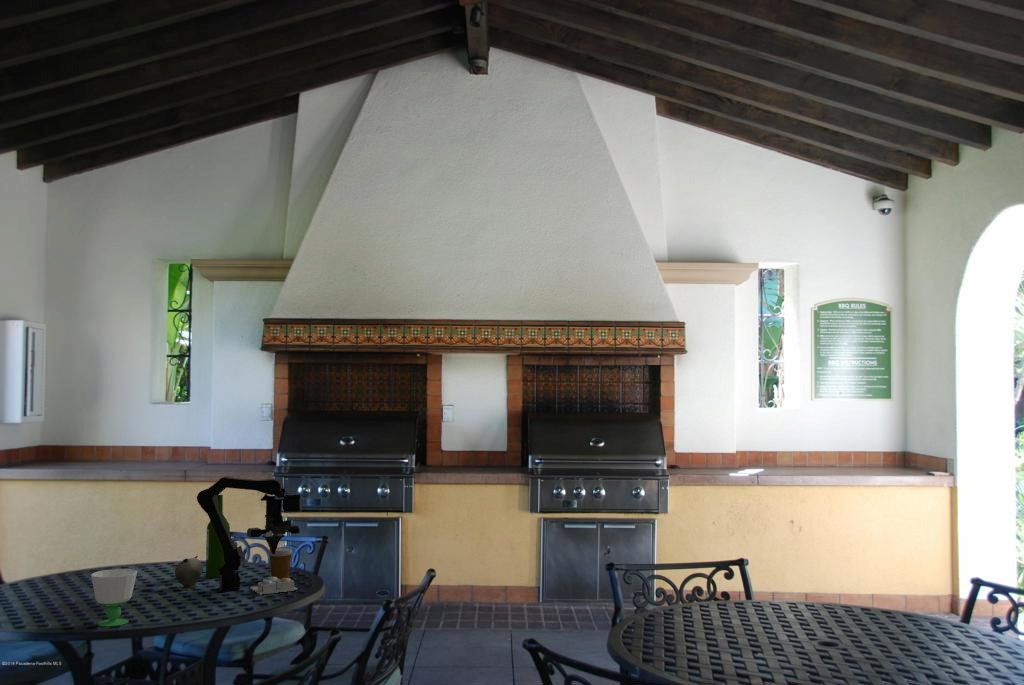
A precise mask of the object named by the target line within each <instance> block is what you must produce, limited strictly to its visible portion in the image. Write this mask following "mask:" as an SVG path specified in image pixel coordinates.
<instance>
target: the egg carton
mask: <svg viewBox="0 0 1024 685" xmlns="http://www.w3.org/2000/svg"><path fill="white" fill-rule="evenodd" d="M264 580H267V578H264V579H262V581H264ZM262 581H260V582H257V586H250V589H252V590H253V591H255V592H257V593H259V594H260V595H262V594H270V593H278V592H287V591H294V590H298V589H299V588H298V587H295V585H296V584H295V581H294V580H293V579H291V578H290V582H280V579H278V578H277V580H275V581H272V584H265V585H263V584H262ZM250 589H249V590H250ZM253 591H252V592H253ZM255 592H254V593H255ZM260 595H259V596H260Z"/></svg>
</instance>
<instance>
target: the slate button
mask: <svg viewBox="0 0 1024 685" xmlns="http://www.w3.org/2000/svg"><path fill="white" fill-rule="evenodd" d="M261 582H262V584H263V585H265V584H272V580H264V581H263V580H262V581H261Z"/></svg>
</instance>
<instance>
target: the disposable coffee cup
mask: <svg viewBox="0 0 1024 685" xmlns="http://www.w3.org/2000/svg"><path fill="white" fill-rule="evenodd" d="M293 552H294V551H293V549H292V548H291V547H289V546H287V547H286V546H285V547H284V546H281V547H280V546H279V547H278V546H277V549H276V552H275V554H272V553H271V551H270V548H269V550H268V552H267V553H268V556H269V565H270V566H269V567H270V574H271V576H270V577H277V578H278V579H282V578H290V577H289V576H290V568H291V563H292V555H293Z"/></svg>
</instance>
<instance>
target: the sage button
mask: <svg viewBox="0 0 1024 685" xmlns="http://www.w3.org/2000/svg"><path fill="white" fill-rule="evenodd" d="M266 579H267V580H272V581H275V580H277V577H272V576H268V577H266Z"/></svg>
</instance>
